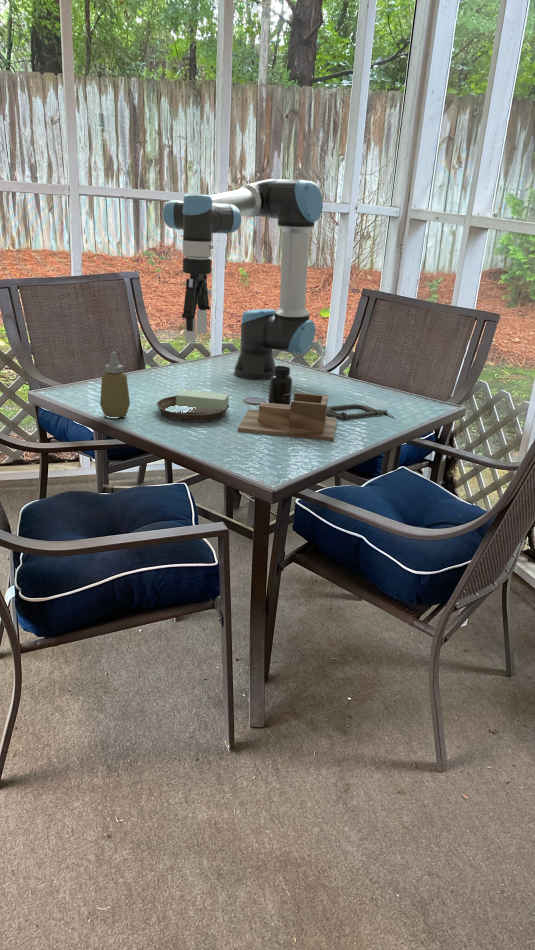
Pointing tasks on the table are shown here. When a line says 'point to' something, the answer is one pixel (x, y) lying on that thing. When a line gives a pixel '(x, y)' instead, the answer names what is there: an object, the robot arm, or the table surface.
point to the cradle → (292, 418)
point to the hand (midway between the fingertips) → (196, 337)
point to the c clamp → (344, 415)
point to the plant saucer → (195, 416)
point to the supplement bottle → (280, 386)
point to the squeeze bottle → (114, 389)
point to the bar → (202, 399)
